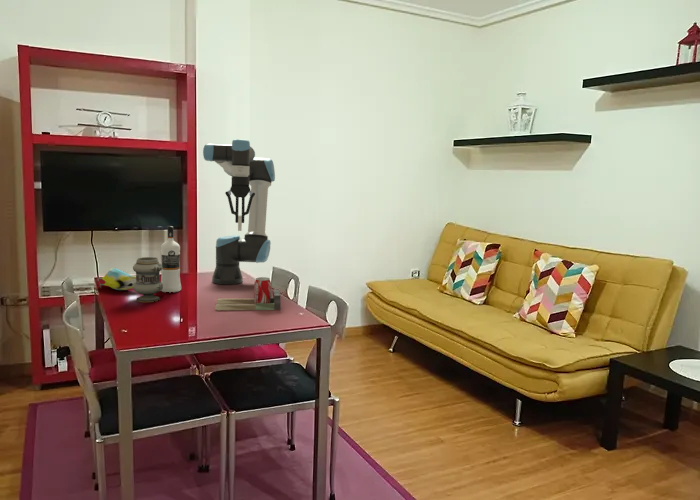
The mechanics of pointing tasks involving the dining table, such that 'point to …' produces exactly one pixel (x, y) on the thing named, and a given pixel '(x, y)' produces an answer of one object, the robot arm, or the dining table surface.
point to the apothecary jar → (147, 278)
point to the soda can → (262, 290)
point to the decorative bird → (118, 280)
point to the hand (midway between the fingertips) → (239, 230)
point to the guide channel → (249, 303)
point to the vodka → (170, 264)
